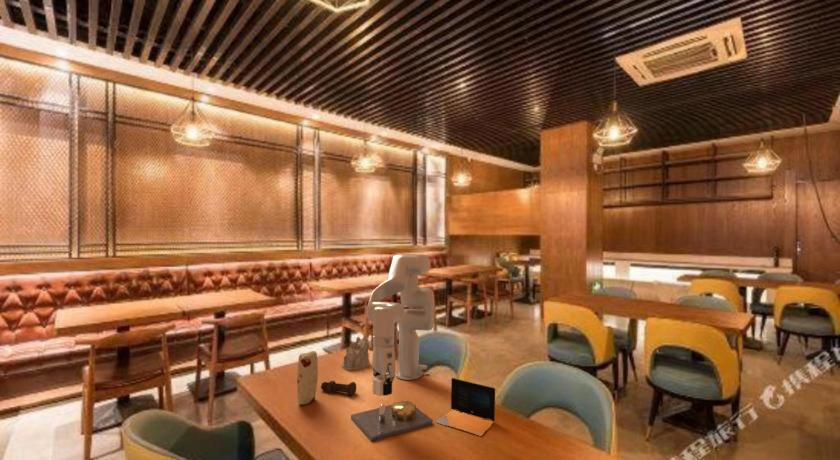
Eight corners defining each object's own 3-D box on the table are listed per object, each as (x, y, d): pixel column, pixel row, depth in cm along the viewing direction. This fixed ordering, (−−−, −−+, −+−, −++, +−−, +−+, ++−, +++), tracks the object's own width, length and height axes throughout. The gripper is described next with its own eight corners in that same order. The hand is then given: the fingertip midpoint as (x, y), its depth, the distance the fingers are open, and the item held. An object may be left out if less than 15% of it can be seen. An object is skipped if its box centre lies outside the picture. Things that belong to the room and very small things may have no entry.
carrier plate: (407, 404, 157) (408, 387, 157) (432, 424, 142) (432, 404, 142) (351, 418, 145) (351, 399, 145) (371, 441, 130) (372, 420, 130)
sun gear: (401, 406, 152) (401, 398, 152) (420, 413, 147) (420, 405, 147) (386, 415, 145) (386, 407, 145) (405, 422, 140) (405, 414, 140)
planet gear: (386, 387, 146) (386, 373, 146) (395, 393, 140) (396, 379, 140) (369, 390, 142) (369, 376, 142) (377, 397, 136) (377, 383, 136)
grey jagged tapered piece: (358, 356, 215) (358, 329, 214) (375, 366, 202) (374, 337, 201) (332, 364, 205) (332, 336, 204) (348, 374, 192) (348, 344, 191)
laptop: (435, 424, 143) (435, 388, 143) (451, 410, 154) (451, 377, 154) (481, 438, 134) (482, 400, 134) (495, 423, 144) (495, 387, 144)
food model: (305, 408, 152) (306, 356, 152) (291, 405, 155) (292, 354, 155) (321, 398, 162) (322, 349, 161) (308, 395, 164) (308, 347, 164)
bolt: (323, 393, 171) (354, 397, 166) (317, 391, 167) (349, 395, 162) (326, 379, 174) (357, 383, 169) (321, 377, 170) (352, 380, 165)
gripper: (404, 345, 136) (403, 397, 136) (382, 334, 151) (381, 380, 150) (385, 348, 132) (383, 401, 132) (364, 336, 147) (362, 384, 147)
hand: (382, 390), depth 141 cm, fingers closed on planet gear, 7 cm apart
